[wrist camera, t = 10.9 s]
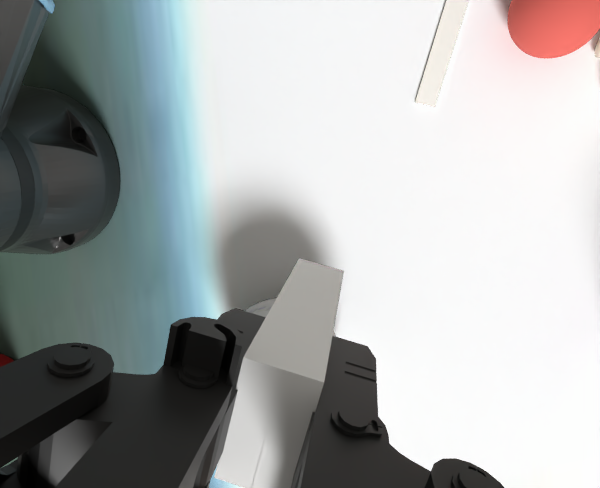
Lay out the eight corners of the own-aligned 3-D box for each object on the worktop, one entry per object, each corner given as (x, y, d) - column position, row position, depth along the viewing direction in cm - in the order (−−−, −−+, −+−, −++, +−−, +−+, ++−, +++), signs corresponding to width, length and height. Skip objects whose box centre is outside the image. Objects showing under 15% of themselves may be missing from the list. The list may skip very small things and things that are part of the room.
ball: (596, 71, 31) (508, 68, 34) (626, -20, 29) (532, -14, 33) (588, 40, 26) (486, 40, 29) (623, -70, 25) (513, -56, 28)
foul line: (414, 102, 35) (415, 102, 35) (476, -97, 31) (476, -99, 31) (434, 107, 35) (434, 106, 35) (498, -92, 31) (499, -94, 31)
